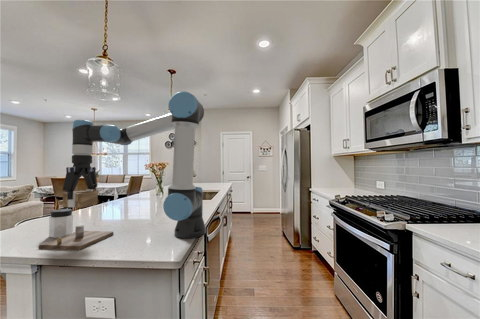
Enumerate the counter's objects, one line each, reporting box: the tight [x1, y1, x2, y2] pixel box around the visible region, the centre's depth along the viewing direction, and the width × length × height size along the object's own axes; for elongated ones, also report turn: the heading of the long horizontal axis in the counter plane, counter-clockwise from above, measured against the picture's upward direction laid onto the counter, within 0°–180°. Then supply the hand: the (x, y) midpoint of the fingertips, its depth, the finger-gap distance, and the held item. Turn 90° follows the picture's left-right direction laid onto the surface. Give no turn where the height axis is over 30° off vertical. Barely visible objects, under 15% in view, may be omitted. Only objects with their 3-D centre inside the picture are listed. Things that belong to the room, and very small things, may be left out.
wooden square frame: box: [57, 190, 99, 209], centre depth 100 cm, size 14×9×6 cm, turn 84°
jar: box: [48, 208, 74, 239], centre depth 108 cm, size 9×8×12 cm
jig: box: [38, 225, 114, 251], centre depth 99 cm, size 18×20×6 cm
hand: (80, 205), depth 100 cm, fingers closed on wooden square frame, 9 cm apart
